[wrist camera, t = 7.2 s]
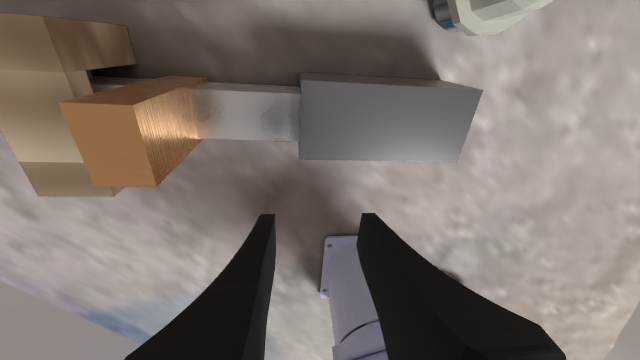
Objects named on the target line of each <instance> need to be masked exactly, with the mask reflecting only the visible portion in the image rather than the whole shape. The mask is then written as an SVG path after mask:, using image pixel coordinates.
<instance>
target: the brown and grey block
mask: <svg viewBox="0 0 640 360" xmlns="http://www.w3.org/2000/svg"><path fill="white" fill-rule="evenodd" d="M88 80H89V82H90V85H91V88H92V91H93V93H94V94H90V95H86V96H82V97H78V98H73V99H69V100H65V101H61V102H58V104H59V106H60V109H61V111H62V113H63V116H64V118H65V120H66V123H67V125H68V127H69V129H70V132H71V134H72V136H73V139H74V141H75V143H76V145H77V148H78V150H79V152H80V155H81V157H82V159H83V162H84V164H85V166H86V168H87V171H88V173H89V175H90V178H91V180H92V182H93V185H94V186H120V187H157V186H158V185H159V184H160V183H161V182H162V181H163V180H164V179H165V178H166V177H167V175H168V174H169V173H170V172H171V171H172V170H173V169H174V168H175V167H176V166H177V165H178V164H179V163H180V162H181V161H182V160H183V159H184V158H185V157H186V156H187V155H188V154H189V153H190V152H191V151H192V149H193V148H194V147H195V146H196V145H197V144H198V143H199V142H200V141H201V140H202V139H227V140H264V141H300V98H301V89H300V87H293V86H274V85H254V84H235V83H216V82H207V78H206V77H187V76H169V75H168V76H164V77H159V78H155V79H138V78H119V77H100V76H99V77H92V78H88Z"/></svg>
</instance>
